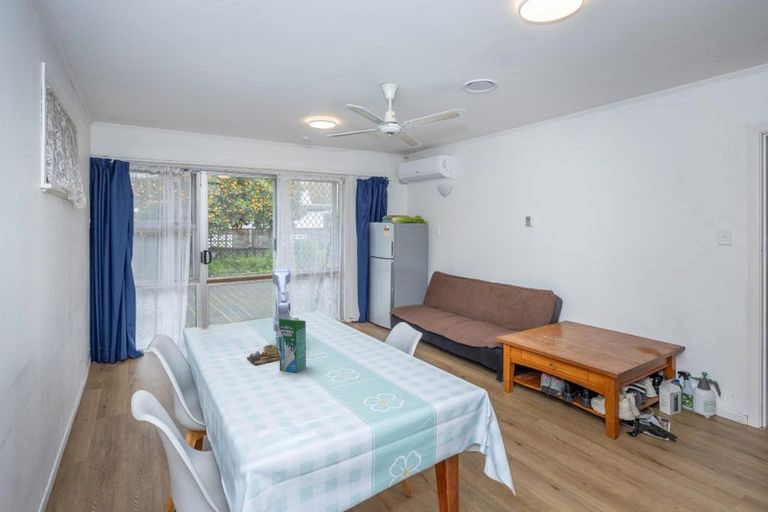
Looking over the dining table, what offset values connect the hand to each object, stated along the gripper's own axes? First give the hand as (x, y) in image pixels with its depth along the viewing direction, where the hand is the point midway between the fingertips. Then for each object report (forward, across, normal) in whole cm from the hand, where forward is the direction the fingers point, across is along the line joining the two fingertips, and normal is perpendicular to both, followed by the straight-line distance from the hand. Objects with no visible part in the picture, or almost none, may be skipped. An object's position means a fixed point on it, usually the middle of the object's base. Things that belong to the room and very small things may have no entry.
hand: (284, 350), depth 208 cm
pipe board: (+3, +8, -6) cm, 10 cm away
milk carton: (+3, +16, +13) cm, 21 cm away
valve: (+2, +6, -5) cm, 8 cm away
